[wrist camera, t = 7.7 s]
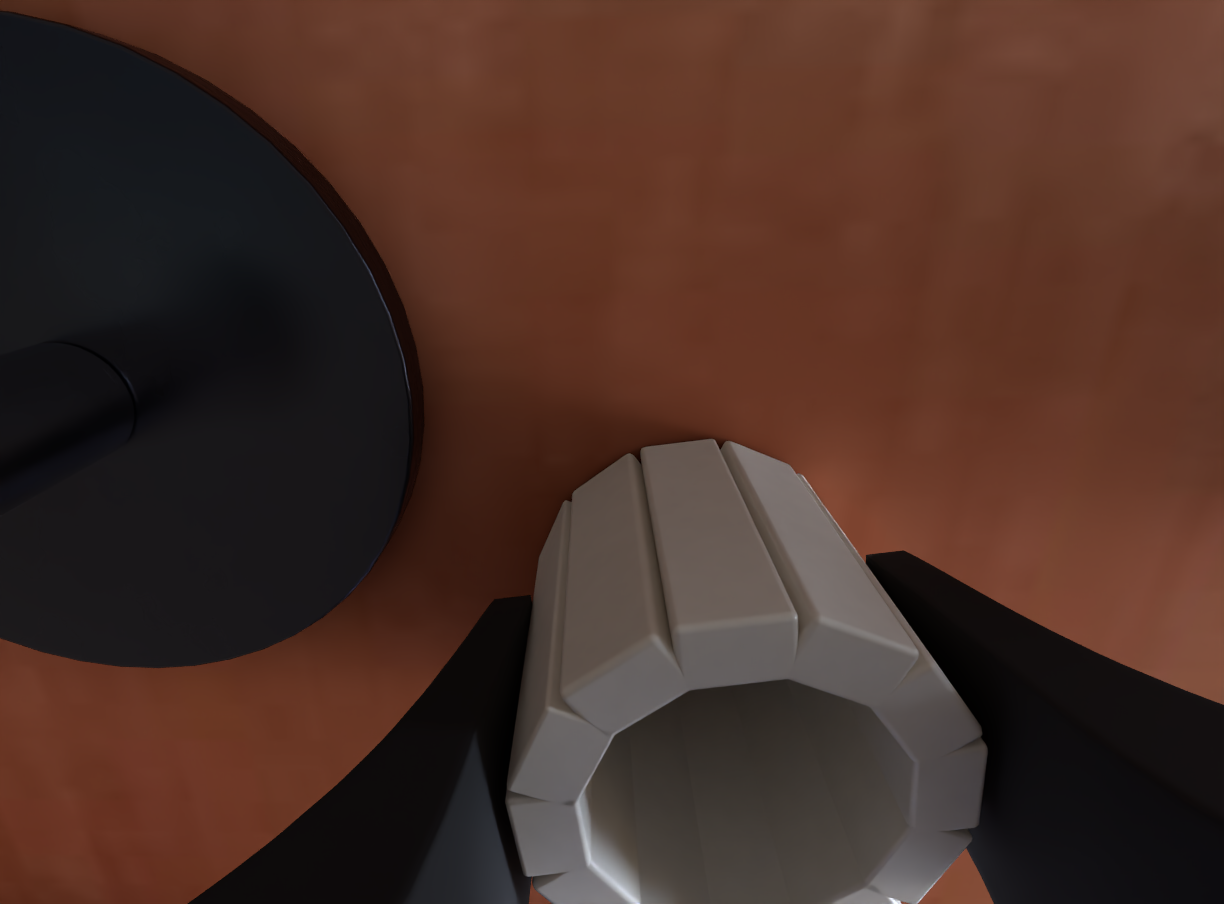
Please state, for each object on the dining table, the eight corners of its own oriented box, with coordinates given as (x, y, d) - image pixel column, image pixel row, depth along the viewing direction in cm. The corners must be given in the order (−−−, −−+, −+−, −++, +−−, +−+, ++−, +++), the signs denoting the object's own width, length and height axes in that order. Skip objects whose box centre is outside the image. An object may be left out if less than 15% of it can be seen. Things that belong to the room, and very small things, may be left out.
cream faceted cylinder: (836, 677, 13) (967, 942, 9) (564, 709, 13) (550, 987, 9) (839, 421, 11) (1010, 589, 7) (517, 460, 11) (465, 653, 7)
